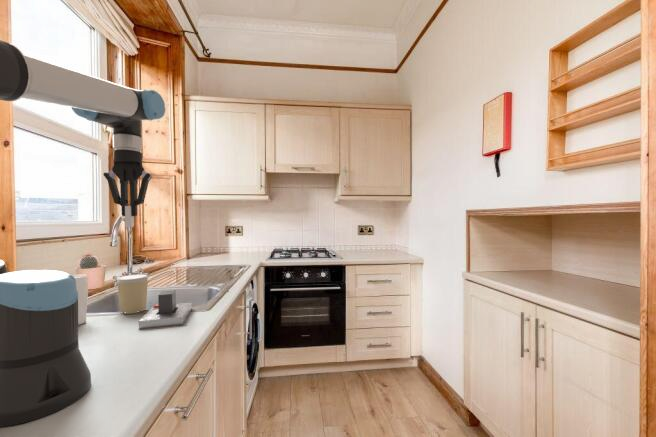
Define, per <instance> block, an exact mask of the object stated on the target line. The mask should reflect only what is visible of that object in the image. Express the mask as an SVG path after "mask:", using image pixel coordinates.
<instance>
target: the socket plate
mask: <svg viewBox="0 0 656 437" xmlns="http://www.w3.org/2000/svg"><path fill="white" fill-rule="evenodd" d="M192 305H193V303H192V302H181V303H176V312H175V313H172V314H160V315H159V303H157V304H156V303H155V304H154V305H153V306H152V307H151V308H150V309H149V310H148V311H147V312H146V313H145V314H144V315H143V316H142V317H141V318H140V319H139V320H138V330H142V329H143V330H145V329H153V328H154V329H155V328H163V327H165V328H166V327H172V326H173V327H175V326H183V325H184V323H185V321H186V320H187V318H188V316H190V315H189V314H190V313H191V311H192V310H193V309H192V308H193V307H192ZM191 309H192V310H191Z"/></svg>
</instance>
